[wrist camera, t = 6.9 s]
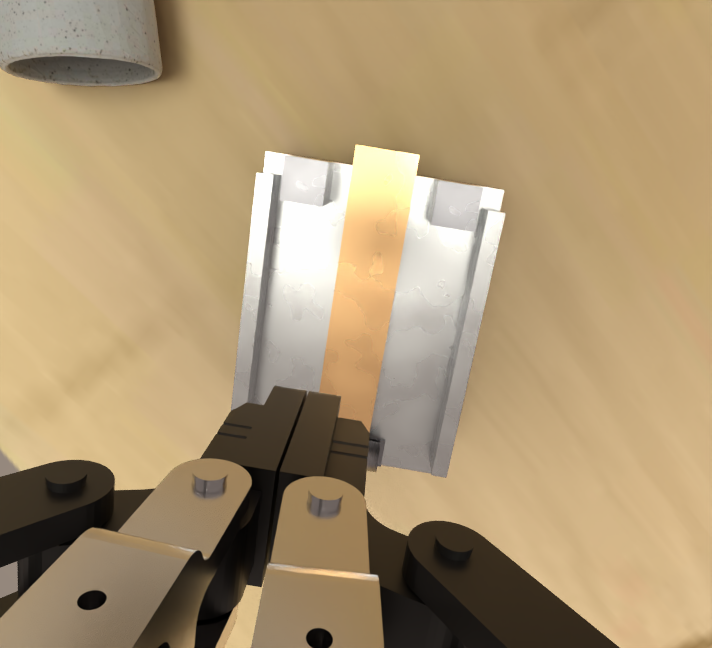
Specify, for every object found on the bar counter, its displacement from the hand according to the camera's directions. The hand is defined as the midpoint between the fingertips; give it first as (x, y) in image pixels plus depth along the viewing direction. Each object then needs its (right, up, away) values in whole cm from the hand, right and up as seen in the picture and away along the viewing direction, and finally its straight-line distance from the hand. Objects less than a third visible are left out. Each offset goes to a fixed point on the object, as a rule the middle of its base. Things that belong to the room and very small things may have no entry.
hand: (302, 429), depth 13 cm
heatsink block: (+2, +4, +23) cm, 23 cm away
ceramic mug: (-14, +20, +20) cm, 31 cm away
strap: (+1, +3, +17) cm, 18 cm away
